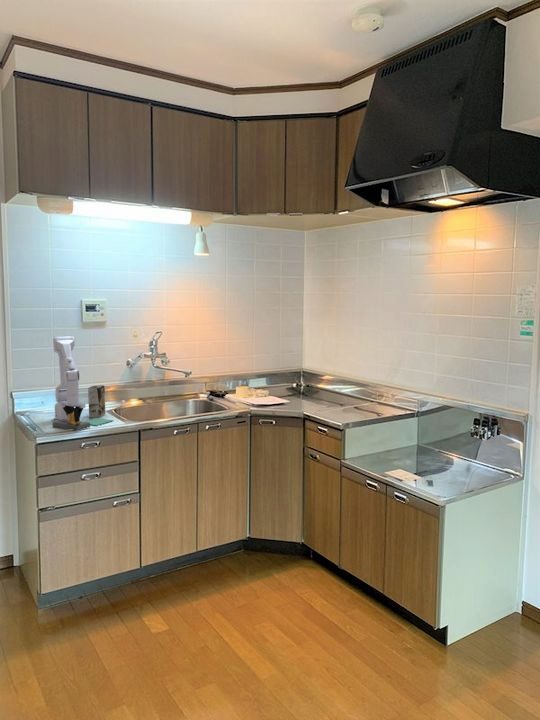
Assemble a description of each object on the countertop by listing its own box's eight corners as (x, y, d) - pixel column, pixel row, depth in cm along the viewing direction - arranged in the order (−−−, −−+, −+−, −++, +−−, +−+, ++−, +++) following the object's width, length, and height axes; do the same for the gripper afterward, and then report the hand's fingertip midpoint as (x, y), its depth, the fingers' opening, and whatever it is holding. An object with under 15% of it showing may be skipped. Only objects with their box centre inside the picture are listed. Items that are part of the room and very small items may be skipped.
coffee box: (100, 417, 294) (99, 388, 292) (88, 417, 294) (87, 387, 292) (106, 413, 303) (104, 385, 301) (94, 413, 303) (93, 385, 301)
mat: (79, 423, 281) (78, 422, 281) (96, 418, 291) (96, 417, 291) (96, 426, 275) (96, 425, 275) (113, 421, 286) (113, 420, 286)
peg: (68, 428, 272) (67, 414, 271) (74, 426, 275) (73, 412, 274) (73, 429, 270) (73, 415, 269) (80, 427, 274) (79, 413, 273)
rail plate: (52, 426, 274) (52, 421, 274) (65, 423, 281) (65, 418, 281) (77, 431, 266) (77, 425, 266) (89, 427, 273) (89, 422, 273)
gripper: (55, 394, 270) (56, 421, 272) (77, 396, 264) (78, 424, 265) (66, 391, 276) (68, 418, 278) (88, 394, 270) (89, 421, 272)
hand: (73, 420), depth 272 cm, fingers closed on peg, 4 cm apart
